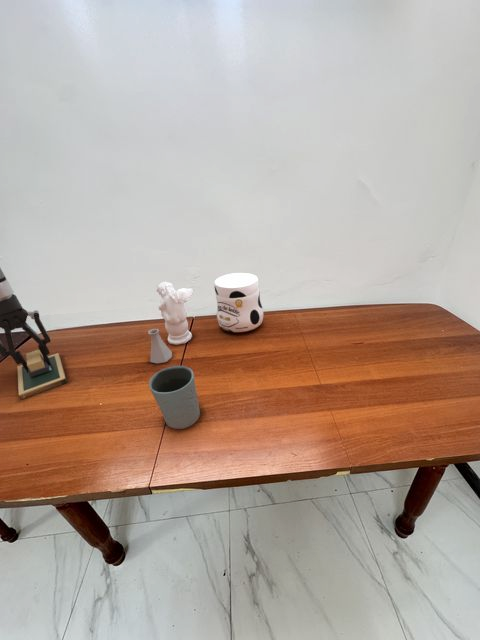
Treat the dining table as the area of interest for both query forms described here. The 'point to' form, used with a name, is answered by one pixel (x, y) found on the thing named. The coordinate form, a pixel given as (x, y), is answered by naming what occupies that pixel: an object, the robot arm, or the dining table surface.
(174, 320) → the cherub figurine
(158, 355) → the flask
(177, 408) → the grey cup
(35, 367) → the eraser
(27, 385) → the slate
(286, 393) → the dining table surface
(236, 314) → the milk container
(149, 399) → the dining table surface
